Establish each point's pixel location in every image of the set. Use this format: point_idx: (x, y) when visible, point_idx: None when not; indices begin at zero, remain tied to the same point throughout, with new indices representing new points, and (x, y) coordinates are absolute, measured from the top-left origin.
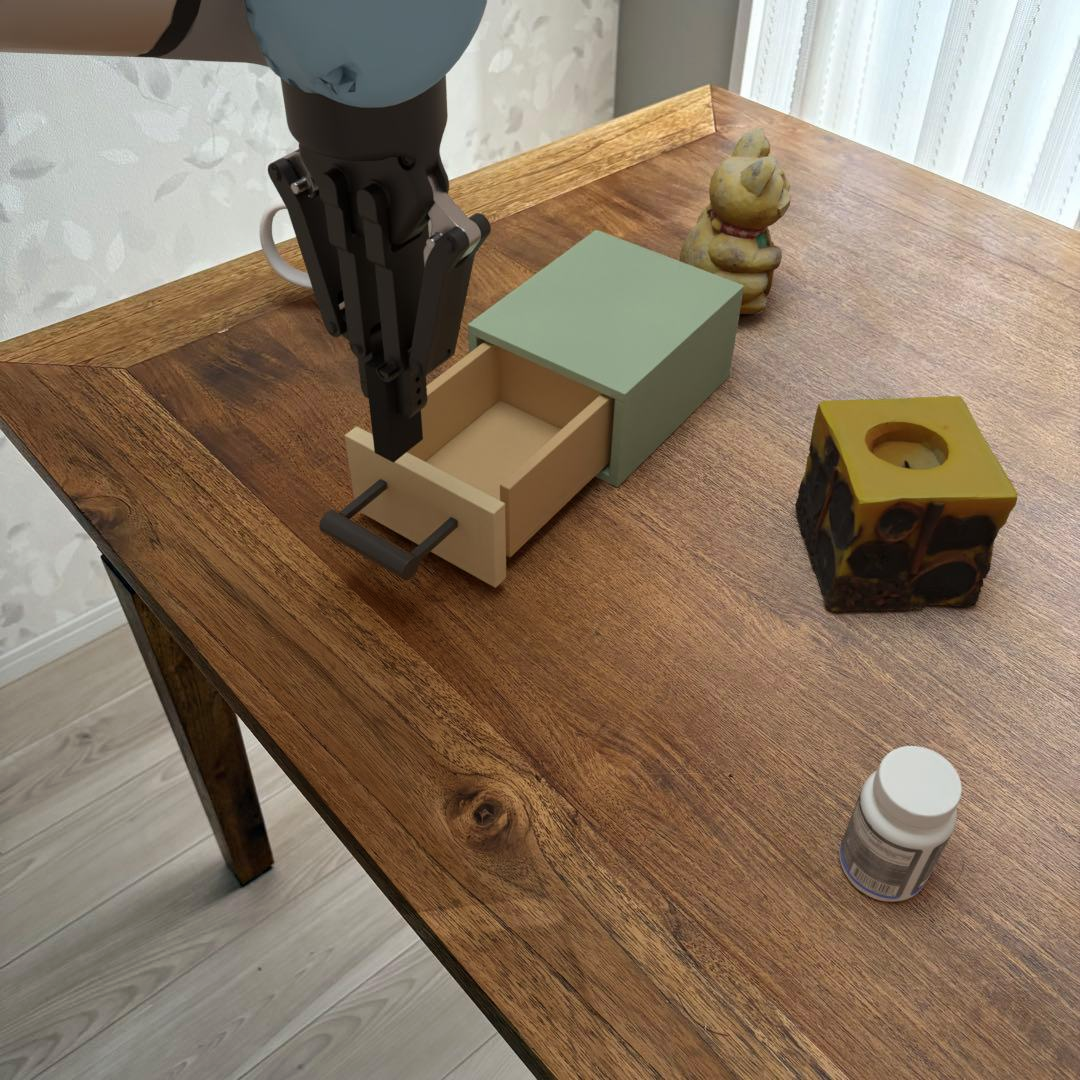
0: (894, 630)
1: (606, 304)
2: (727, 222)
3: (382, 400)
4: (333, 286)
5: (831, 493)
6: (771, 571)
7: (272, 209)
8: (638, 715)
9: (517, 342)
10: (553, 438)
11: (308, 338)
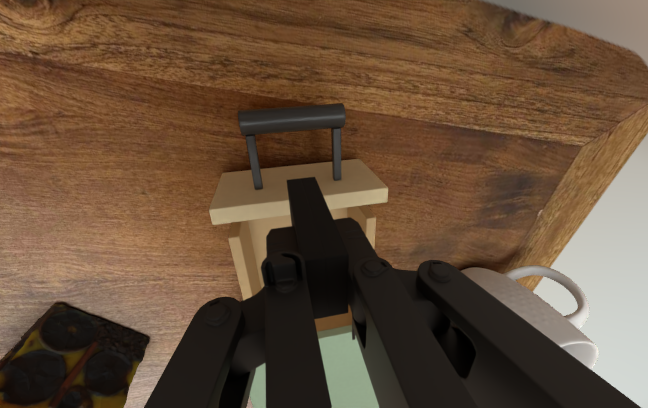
0: (18, 316)
1: None
2: None
3: (305, 224)
4: (496, 365)
5: (62, 382)
6: (115, 300)
7: (583, 305)
8: (50, 157)
9: (343, 336)
10: (250, 295)
11: (488, 242)
